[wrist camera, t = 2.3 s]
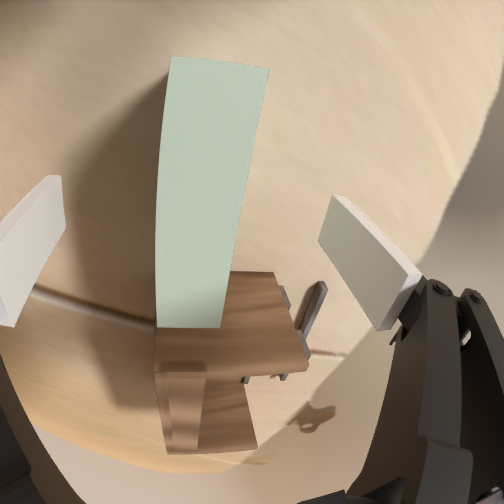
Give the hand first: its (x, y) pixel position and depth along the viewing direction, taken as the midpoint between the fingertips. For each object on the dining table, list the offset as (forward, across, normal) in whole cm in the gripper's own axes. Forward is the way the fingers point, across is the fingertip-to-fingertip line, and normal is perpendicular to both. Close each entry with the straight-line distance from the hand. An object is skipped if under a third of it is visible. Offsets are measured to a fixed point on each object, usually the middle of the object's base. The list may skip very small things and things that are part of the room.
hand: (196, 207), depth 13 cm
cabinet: (+8, +6, -18) cm, 21 cm away
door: (+8, 0, +1) cm, 8 cm away
